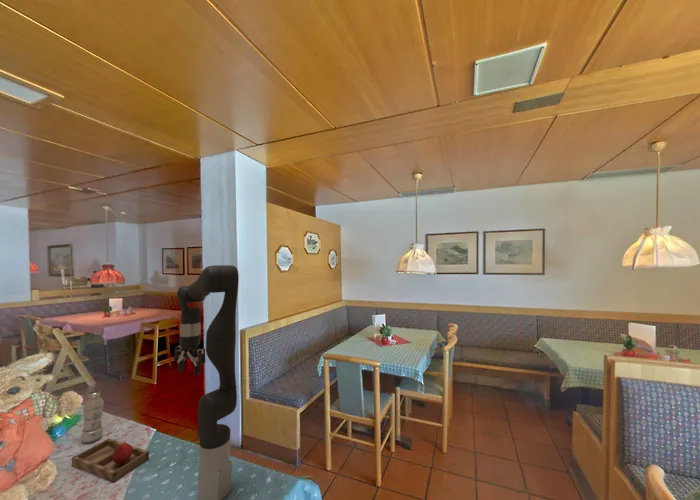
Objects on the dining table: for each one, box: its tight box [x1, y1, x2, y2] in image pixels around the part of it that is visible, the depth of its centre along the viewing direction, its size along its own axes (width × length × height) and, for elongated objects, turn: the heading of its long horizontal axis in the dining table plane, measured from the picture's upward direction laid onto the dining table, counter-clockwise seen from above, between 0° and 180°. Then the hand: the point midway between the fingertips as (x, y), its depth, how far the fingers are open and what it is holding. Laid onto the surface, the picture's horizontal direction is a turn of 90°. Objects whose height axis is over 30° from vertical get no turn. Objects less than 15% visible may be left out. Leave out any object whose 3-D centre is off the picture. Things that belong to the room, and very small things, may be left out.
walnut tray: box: [71, 438, 150, 483], centre depth 105 cm, size 23×12×3 cm, turn 71°
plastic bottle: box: [80, 389, 105, 444], centre depth 118 cm, size 6×7×20 cm
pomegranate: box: [112, 440, 133, 464], centre depth 104 cm, size 6×6×8 cm
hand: (189, 373), depth 116 cm, fingers open, 8 cm apart
